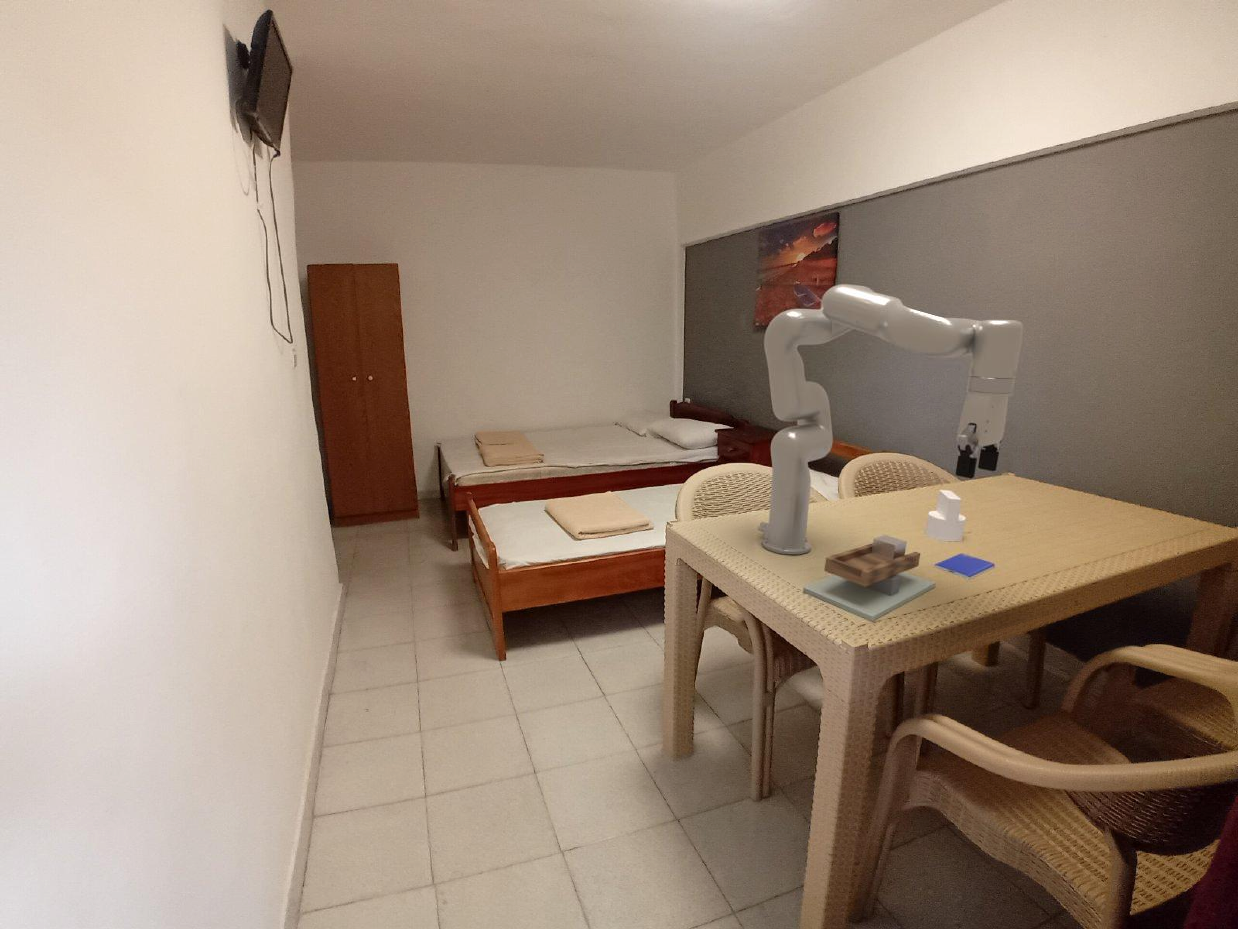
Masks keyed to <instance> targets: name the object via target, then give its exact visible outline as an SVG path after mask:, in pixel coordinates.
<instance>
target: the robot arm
mask: <svg viewBox="0 0 1238 929" xmlns="http://www.w3.org/2000/svg"><path fill="white" fill-rule="evenodd" d="M852 330H857V331H859V332H863V333H865V334H869V335H872V336H875V337H878V338H880V339H881V340H884V341H885V342H888V343H890V344H892V345H894V346H896V347H899V348H902V349H904V350H907V351H911V352H914V353H917V354H920V355H923V356H925V357H930V358H935V359H946V358H947V359H948V358H962V357H971V360H970V365H969V366H970V367H969V374H968V380H967V384H966V392H965V393H966V394H967V395H966V396H965V400H964V403H963V406H962V410H961V414H960V419H959V424H958V429H957V432H956V433H957V434H956V442H957V443H958V445H957V450H958V451H957V463H956V468H955V475H956V476H957V477H961V478H966V479H974V478H975V474H976V468H977V467H978V469H980V470H985V471H988V472H996V471H997V468H998V461H999V456H1000V451H1001V449H1002V448H1001V443H1002V441H1003V437H1004V434H1005V429H1006V422H1007V416H1008V415H1007V414H1008V405H1009V404H1008V403H1009V397H1013V392H1014V386H1015V381H1016V374H1017V370H1018V365H1019V357H1020V352H1021V347H1022V341H1023V340H1022V339H1023V336H1024V335H1023V334H1024V324H1023V322H1021V321H1019V320H1014V319H1010V320H1009V319H987V320H986V319H985V320H977V319H971V318H958V317H942V316H939V315H935V314H931V313H928V312H923V311H920V310H917V309H913V308H911V307H908V306H905V305H904V304H903V302H902V300H901V299H899V298H897V297H894V296H891V295H887V294H883V293H879V292H876V291H874V290H873V289H871V288H870V287H867V286H863V285H857V284H848V283H847V284H846V283H845V284H844V283H843V284H836V285H833V286H832V287H830V288H829V289H828V290H827V291H825V293H824V294H823V295H822V298H821V301H820V308H819V309H814V308H813V309H809V308H793V309H788V310H784V311H781V312H780V313H779V314H777V315H776V316H775V317H774V318H773V319H771V321H770V322H769V324H768V326H767V327H766V330H765V334H764V338H763V340H764V341H763V345H764V354H765V358H766V362H767V368H768V369H767V370H768V378H769V379H768V380H769V388H770V396H771V397H770V398H771V405H772V411H773V414H774V416H775V417H776V418H777V419H778V420H779V421H783V422H795V421H796V422H797V425H794V426H789V427H784V428H783V429H781V430H779V431H778V432H777V433H776V434H775V435H774V436H773V438H772V440H771V444H770V456H771V464H772V465H771V467H772V469H771V470H772V473H771V488H770V490H771V491H770V501H769V502H770V503H769V504H770V506H769V515H768V516H769V517H768V522H765V521H760V522H759V525H758V527H757V531H758V532H762V533H764V535H763V537H762V538H761V542H760V543H761V546H762V547H763V548H765V549H767V550H768V551H770V552H773V553H777V554H782V555H791V556H793V555H794V556H796V555H804V554H806V553H809V552H810V551H811V550H812V543H811V542H810V540H808V539H806V537H807V529H808V527H807V526H808V516H809V506H810V497H811V496H810V495H811V484H812V482H811V481H812V478H811V473H810V469H809V464H808V463H809V462H813V461H816V460H817V461H818V460H820V459H822V458H823V459H824V457H826V456H827V455H828V454H829V453H830V452H831V450H832V447H833V442H834V441H833V440H834V439H833V425H832V418H831V407H830V400H829V395H828V394H827V392H826V390H825V389H824V387H823V386H822V385H821V384H819V383H818V382H815V381H810V380H809V381H807V380H806V376H805V366H804V361H803V359H802V357H801V354H800V352H799V351H798V347H800V346H807V345H808V346H811V345H814V346H816V345H822V344H825V343H828V342H830V341H832V340H834V339H836V338H838V337H840V336H842V335H845V334H846V333H848V332H850V331H852ZM980 448H981V449H980ZM979 449H980V452H979ZM978 452H979V459H978V457H976V456H977V455H978V454H977V453H978ZM977 462H978V465H977Z"/></svg>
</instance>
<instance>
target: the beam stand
mask: <svg viewBox="0 0 1238 929" xmlns="http://www.w3.org/2000/svg"><path fill="white" fill-rule="evenodd" d="M935 587H936V582H935V581H931V580H929V579H926V578H922V577H919V576H916V575H914V574H911V573H908V572H906V571H904V572H902V573H899V574H896V575H894V576H891V577H889V578H886V579H884V580H881V581H878V582H876V583H873V584H871V585H868V586H862V585H860V584H857V583H855V582H852V581H849V580H847V579H844V578H842V577H839V576H836V575H834V574H832V575H829V576H828V577H824V578H822V579H821V580H819V581H815V582H813V583H811V584H808V585H806V586H804V587H803V590H802V592H803V593H804V594H808V595H810V596H812V597H813V598H816V599H819V600H822V601H824V602H825V603H826V602H827V603H828V604H831V605H833V606H836V607H837V608H839V609H843V610H845V611H847V612H850V613H851V614H854V615H855V616H856V615H857V616H859V617H861V618H862V619H865V620H868V621H870V622H873V621H875V620H877V619H879V618H881V617H883V616H884V615H886V614H888V613H890V612H892V611H893V610H895V609H897V608H899V607H901V606H903V605H905V604H907V603H909V602H910V601H912V600H914V599H916V598H918V597H919V596H921V595H923V594H924V593H927V592H928V591H930V590H932V589H934V588H935Z"/></svg>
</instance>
